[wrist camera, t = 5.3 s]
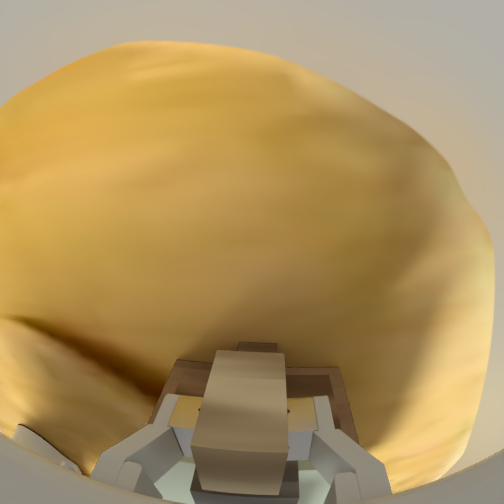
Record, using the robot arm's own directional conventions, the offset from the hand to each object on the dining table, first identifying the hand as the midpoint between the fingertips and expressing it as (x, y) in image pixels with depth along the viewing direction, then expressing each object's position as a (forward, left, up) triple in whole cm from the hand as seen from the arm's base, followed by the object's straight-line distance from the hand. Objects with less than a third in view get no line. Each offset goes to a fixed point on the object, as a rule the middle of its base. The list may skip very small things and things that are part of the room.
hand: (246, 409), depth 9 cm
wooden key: (-5, 0, -2) cm, 5 cm away
